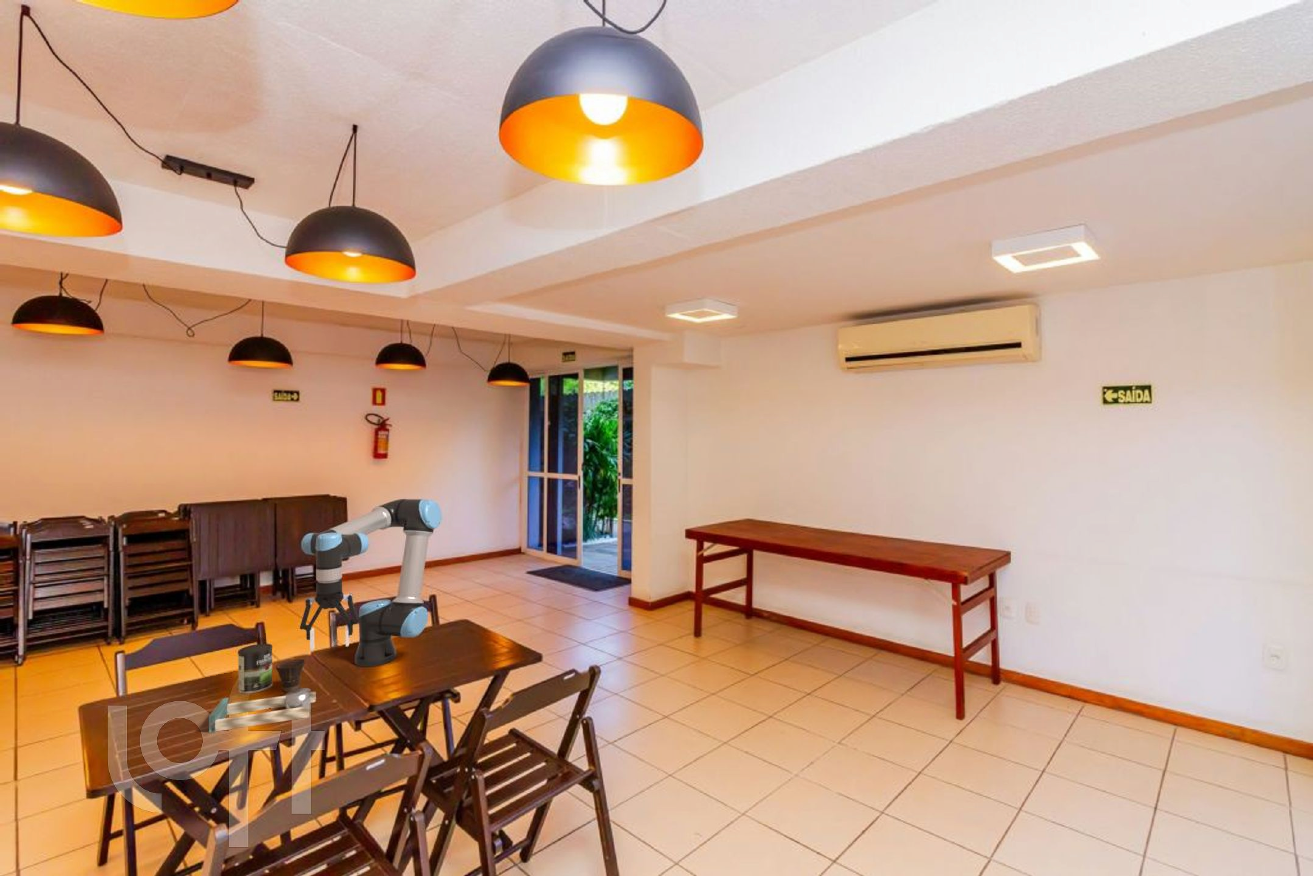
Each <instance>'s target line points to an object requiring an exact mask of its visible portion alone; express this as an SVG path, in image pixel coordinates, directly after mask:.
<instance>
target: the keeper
mask: <svg viewBox="0 0 1313 876" xmlns="http://www.w3.org/2000/svg"><path fill="white" fill-rule="evenodd" d="M311 690H312V689H310V688H308V687H299V688H298V689H295V690H292V691H290V692H286V694H285V696H286V706H285V709H292V708H299V707H306V706H309V711H310V710H311V708H312V707H311V706H312V705H311V692H312V691H311Z"/></svg>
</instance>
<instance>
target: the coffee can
mask: <svg viewBox="0 0 1313 876" xmlns="http://www.w3.org/2000/svg"><path fill="white" fill-rule="evenodd" d="M237 654H238V655H237V659H238V661H237V663H238V693H240V694H243V695H245V694H247V695H248V694H255V693H260V692H262V691H265V690H268V689H270V688H271V687H272V686H273V684H274V683H273V645H272V644H270V643H257V644H251V645H248V646H247V645H246V646H244V647H242V648H240V649H238V651H237Z"/></svg>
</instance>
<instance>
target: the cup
mask: <svg viewBox="0 0 1313 876" xmlns="http://www.w3.org/2000/svg"><path fill="white" fill-rule="evenodd" d="M305 662H306V660H305V659H304V658H292V659H291V658H290V659H286V660H282V661H279V662H278V663H277V664H275V666H274V667H275V670H276V671H277V673H278V676H279V678H280V682H281V685H282V691H283V692H285V693H288V692H290V691H292V690H295V689H300V679H301V674H302V671H303V668H304V666H305Z"/></svg>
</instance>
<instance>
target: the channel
mask: <svg viewBox="0 0 1313 876" xmlns="http://www.w3.org/2000/svg"><path fill="white" fill-rule="evenodd" d="M316 695H317V692H316V691H311V703H315V702H317V701H316V700H317V698H316ZM284 707H285V709H280V710H273V711H266V712H257V713H252V712H256V711H263V710H270V709H269V708H271V709H278V708H284ZM250 712H251V713H252V714H245V715H240V716H239V715H237V716H232V717H227V716H228V715H235V714H241V713H242V714H243V713H250ZM307 718H310V710H309V706H306V707H299V708H292V709H286V695H282V696H275V697H273V696H272V697H268V698H266V697H265V698H260V699H252V700H246V701H238V702H232V703H229V697H224V698H222V699H221V700H220V702H219V703H218V704H217V705H216V707H215V708H214V709H213V710H212V712H211V713H210V714H209V716H208V728H209V729H208V732H209V733H215V732H221V731H227V730H228V731H229V730H234V729H240V728H248V727H255V726H260V725H269V724H273V723H279V722H286V721H292V720H298V719H299V720H300V719H307Z"/></svg>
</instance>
